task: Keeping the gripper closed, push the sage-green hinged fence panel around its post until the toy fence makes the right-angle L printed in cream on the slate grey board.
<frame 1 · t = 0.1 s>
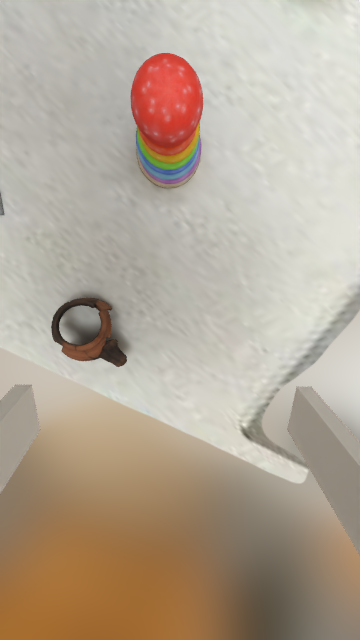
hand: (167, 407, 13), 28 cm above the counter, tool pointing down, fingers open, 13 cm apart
brown jagged ring: (98, 329, 42), on the counter
stacking toy: (168, 154, 34), on the counter
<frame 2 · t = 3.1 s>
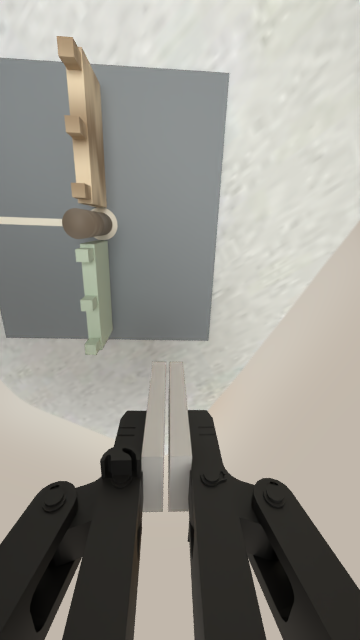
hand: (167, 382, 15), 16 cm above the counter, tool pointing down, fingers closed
folding panel: (96, 295, 26), point 4 cm above the counter, hinge at 0.0°
layout board: (103, 224, 28), on the counter
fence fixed: (101, 224, 27), resting on layout board
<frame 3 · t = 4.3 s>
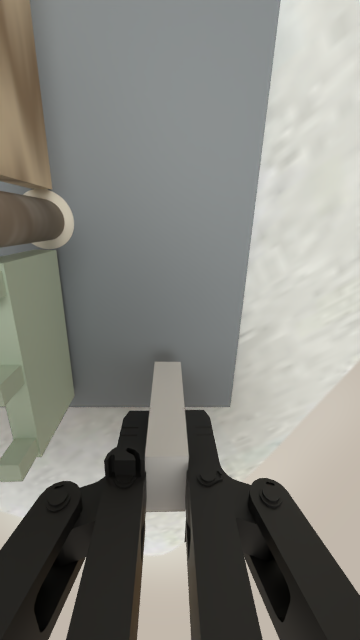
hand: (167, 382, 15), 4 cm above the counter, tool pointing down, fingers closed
folding panel: (30, 355, 14), point 4 cm above the counter, hinge at 0.0°
layout board: (49, 220, 15), on the counter
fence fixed: (45, 220, 15), resting on layout board
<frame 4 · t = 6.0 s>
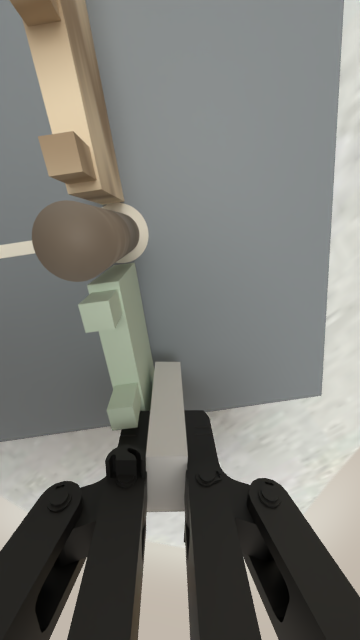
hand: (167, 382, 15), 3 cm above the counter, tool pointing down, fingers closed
folding panel: (133, 372, 13), point 4 cm above the counter, hinge at 0.9°, touching gripper
layout board: (121, 233, 15), on the counter
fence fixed: (119, 234, 15), resting on layout board
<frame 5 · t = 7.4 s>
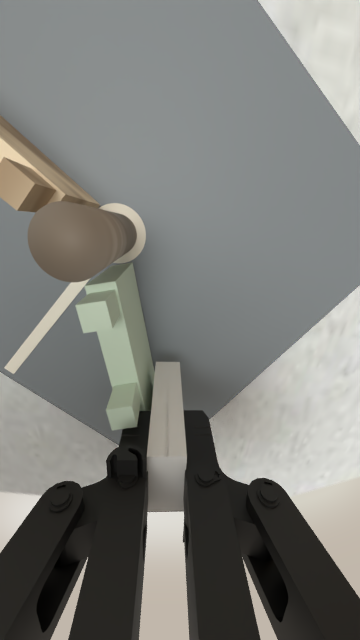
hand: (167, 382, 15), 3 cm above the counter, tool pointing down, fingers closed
folding panel: (132, 372, 13), point 4 cm above the counter, hinge at 39.8°, touching gripper
layout board: (118, 234, 15), on the counter
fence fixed: (117, 234, 15), resting on layout board
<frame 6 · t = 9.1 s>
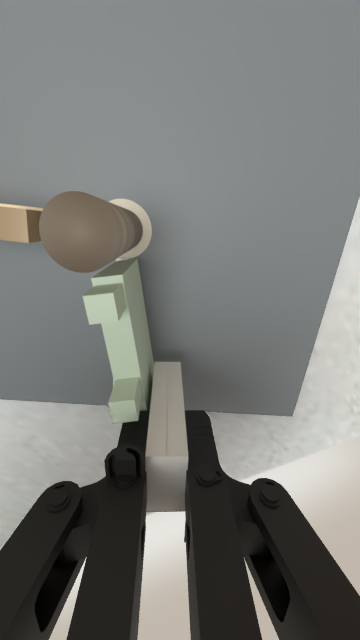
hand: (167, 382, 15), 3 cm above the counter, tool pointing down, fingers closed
folding panel: (134, 367, 13), point 4 cm above the counter, hinge at 78.0°, touching gripper
layout board: (124, 229, 15), on the counter
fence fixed: (123, 229, 15), resting on layout board
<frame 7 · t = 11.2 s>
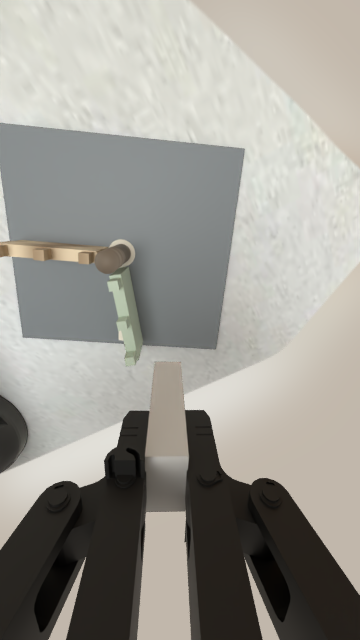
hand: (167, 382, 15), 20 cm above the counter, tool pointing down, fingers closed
folding panel: (127, 315, 30), point 4 cm above the counter, hinge at 78.0°
layout board: (122, 252, 32), on the counter
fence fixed: (121, 253, 31), resting on layout board
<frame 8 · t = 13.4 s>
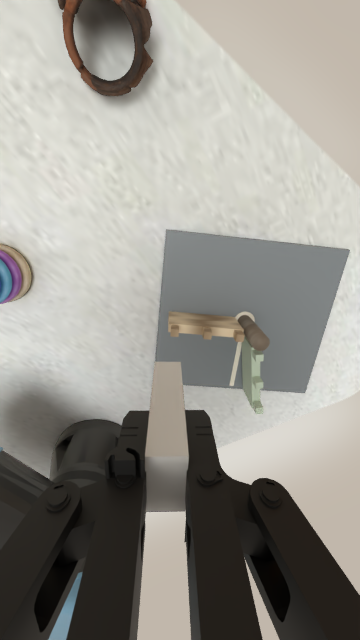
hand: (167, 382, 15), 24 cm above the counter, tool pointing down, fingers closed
folding panel: (252, 372, 39), point 4 cm above the counter, hinge at 78.0°
brown jagged ring: (106, 39, 29), on the counter
layout board: (243, 320, 41), on the counter
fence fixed: (244, 321, 40), resting on layout board
stacking toy: (5, 272, 37), on the counter
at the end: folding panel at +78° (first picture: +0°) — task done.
